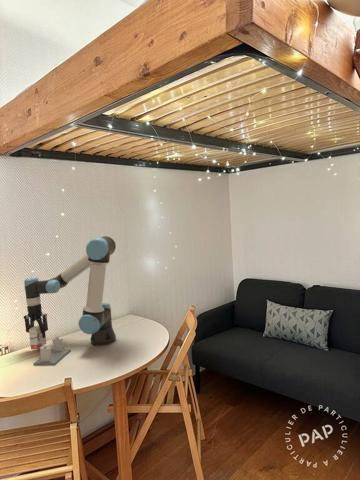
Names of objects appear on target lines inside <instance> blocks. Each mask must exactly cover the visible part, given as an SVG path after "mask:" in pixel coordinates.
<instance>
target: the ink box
mask: <svg viewBox="0 0 360 480" xmlns="http://www.w3.org/2000/svg"><path fill="white" fill-rule="evenodd" d="M40 333H41V330H40V327H39V325H38V324H36V325H34V327H32V328H30V329H29V343H30V349H31V350H40V348H43V347H44V346H46V345H47V337H45V343H44V344H41V336H40Z"/></svg>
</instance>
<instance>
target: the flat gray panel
mask: <svg viewBox="0 0 360 480" xmlns="http://www.w3.org/2000/svg"><path fill="white" fill-rule="evenodd" d="M63 343H64V342H63V338H62V337H59V336H55V338H53V339H52V345H53V346H52V347H53V348H51V347H50V346H49V347H48V346H47V345H44V346H43V347H40V348H39V350H40V357H39V358H38V359H37V360H36V361H34V362H33V363H32V364H33V366H56V365H58V363H59V362H61V361H62V360H63V359H64V358H65V357H66V356H67V355H69V353H70V352H71V351H72V350H71V348H65V349H64V344H63Z"/></svg>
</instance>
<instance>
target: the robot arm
mask: <svg viewBox="0 0 360 480" xmlns="http://www.w3.org/2000/svg"><path fill="white" fill-rule="evenodd" d="M85 246H86V247H85V253H86V254H85V255H84V256H82V257H81V258H79V259H78V260H76V261H75V262H73V264H71V265H70V266H69V267H68V268H66V269H65V270H63V271H62V272H61V273H60V274H58V275H57V276H54V277H52V278H50V279H48V280H39V278H38V277H36V276H35V277H28V278H25V279H24V281H23V282H24V283H23V284H24V286H23V287H24V290H25V303H26V308H27V312H28V313H27V314H25V315H24V316H23V319H24V325H25V332H26V333H29V329H30V328H32V327H34V326H35V322H37V325H39V327H40V330H41V333H40V336H41V344H44V343H45V337H46V332H47V331H49V326H48V318H47V317H48V314H47V313H43V311H42V308H43V307H42V304H41V301H42V299H41V295H44V294H57V293H58V292H60V289H63V288H65V287H67V285H68V284H69V283H71V282H72V281H73V280H74V279H77V278H78V276H80V275H81V274H83V273H84V272H85V271H87V270H88V269H89V274H88V283H87V284H88V286H87V292H86V293H87V294H86V304H85V306H84V307H83V308H82V315H81V316H80V318H79V320H78V327H79V329H80V330H81V331H82V333H83V334H86V335H91V336H90V344H91V345H93V346H106V345H109V343H110V344H112V343H114V342H115V341H116V340H117V335H116V333H115V331H114V328H113V321H112V320H113V319H112V308H111V304H110V303H108V302H103V299H104V290H105V289H104V288H105V280H106V270H107V265H108V264H110V259H111V256H112V255H113V254H114V253H115V250H116V247H117V246H116V242H115V240H114V239H113V238H112V237H110V236H107V235H105V236H100V237H94V238H93V239H90V240H89V241H88V242H87V244H86V245H85ZM46 338H47V337H46Z"/></svg>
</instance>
